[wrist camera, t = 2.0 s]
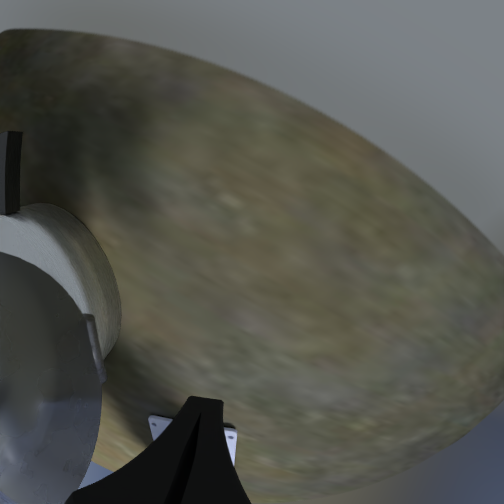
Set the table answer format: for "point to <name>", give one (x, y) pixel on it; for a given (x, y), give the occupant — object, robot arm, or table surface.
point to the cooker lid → (45, 386)
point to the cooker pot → (57, 247)
